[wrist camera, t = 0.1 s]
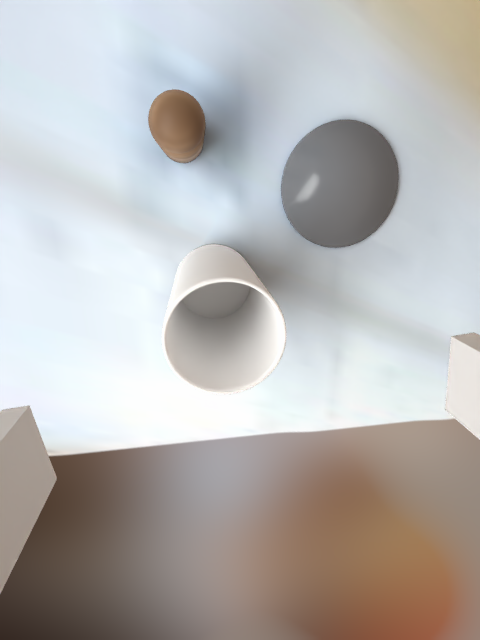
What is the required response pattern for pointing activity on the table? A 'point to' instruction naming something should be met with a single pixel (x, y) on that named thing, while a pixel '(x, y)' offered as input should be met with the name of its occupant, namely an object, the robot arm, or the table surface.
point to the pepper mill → (177, 125)
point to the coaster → (339, 183)
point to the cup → (221, 323)
